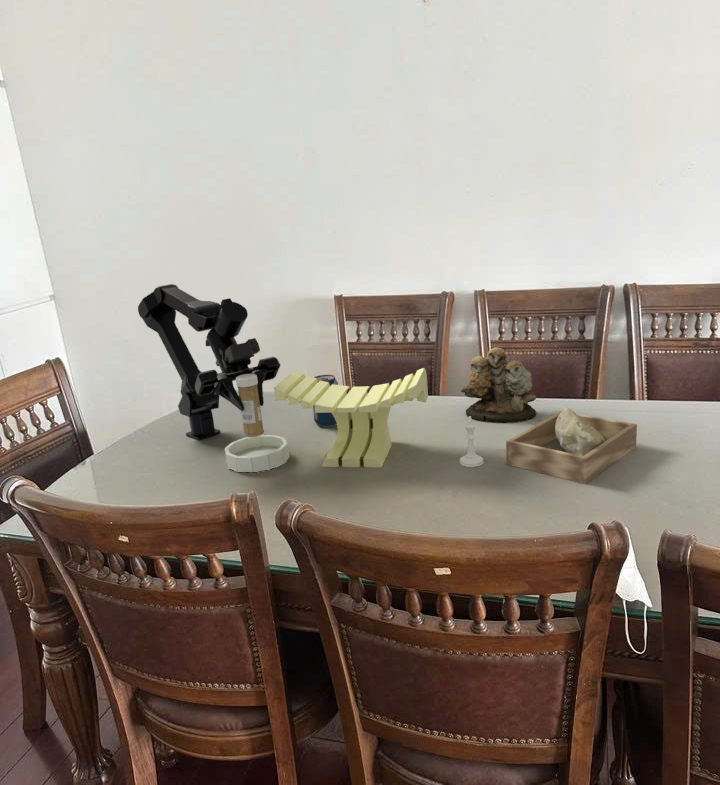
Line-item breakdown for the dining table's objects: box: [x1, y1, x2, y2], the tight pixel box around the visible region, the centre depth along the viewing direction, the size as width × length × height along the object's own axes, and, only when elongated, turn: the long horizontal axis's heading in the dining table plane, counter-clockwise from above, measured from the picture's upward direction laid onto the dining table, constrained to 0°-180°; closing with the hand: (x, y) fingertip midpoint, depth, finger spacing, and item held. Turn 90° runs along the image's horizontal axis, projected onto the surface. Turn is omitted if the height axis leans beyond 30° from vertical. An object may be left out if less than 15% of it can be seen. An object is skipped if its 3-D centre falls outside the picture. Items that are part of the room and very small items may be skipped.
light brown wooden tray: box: [505, 410, 638, 485], centre depth 137 cm, size 17×22×5 cm
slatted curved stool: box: [273, 367, 429, 468], centre depth 147 cm, size 30×16×18 cm, turn 78°
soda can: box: [312, 374, 339, 428], centre depth 169 cm, size 7×7×12 cm
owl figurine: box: [460, 346, 537, 424], centre depth 163 cm, size 18×12×17 cm, turn 75°
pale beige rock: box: [555, 406, 605, 456], centre depth 137 cm, size 15×7×15 cm
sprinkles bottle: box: [235, 374, 265, 438], centre depth 146 cm, size 5×5×13 cm
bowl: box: [224, 434, 290, 473], centre depth 149 cm, size 14×14×4 cm
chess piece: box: [459, 416, 485, 468], centre depth 137 cm, size 5×5×10 cm
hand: (252, 407), depth 145 cm, fingers closed on sprinkles bottle, 4 cm apart
